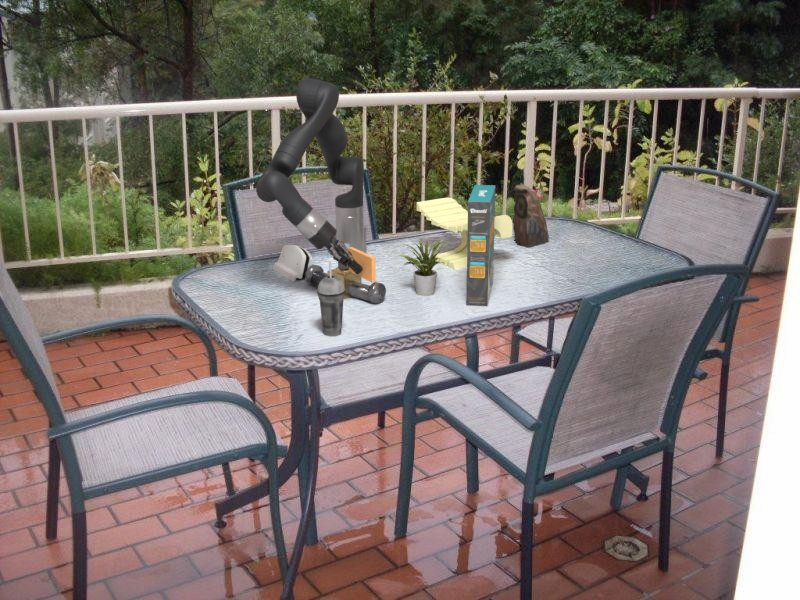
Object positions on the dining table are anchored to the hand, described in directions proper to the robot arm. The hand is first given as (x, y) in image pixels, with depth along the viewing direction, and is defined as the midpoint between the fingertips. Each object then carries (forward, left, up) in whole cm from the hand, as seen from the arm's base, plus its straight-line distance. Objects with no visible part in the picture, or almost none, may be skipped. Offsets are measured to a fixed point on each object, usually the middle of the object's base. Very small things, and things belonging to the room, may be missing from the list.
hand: (360, 271), depth 259 cm
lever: (-3, -4, -2) cm, 5 cm away
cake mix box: (-31, +19, -10) cm, 37 cm away
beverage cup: (+20, +10, -10) cm, 25 cm away
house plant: (-22, +6, -10) cm, 25 cm away
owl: (-87, -2, -10) cm, 87 cm away
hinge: (-8, -38, -11) cm, 40 cm away
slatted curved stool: (-54, -6, -10) cm, 55 cm away
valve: (-5, -11, -10) cm, 16 cm away
